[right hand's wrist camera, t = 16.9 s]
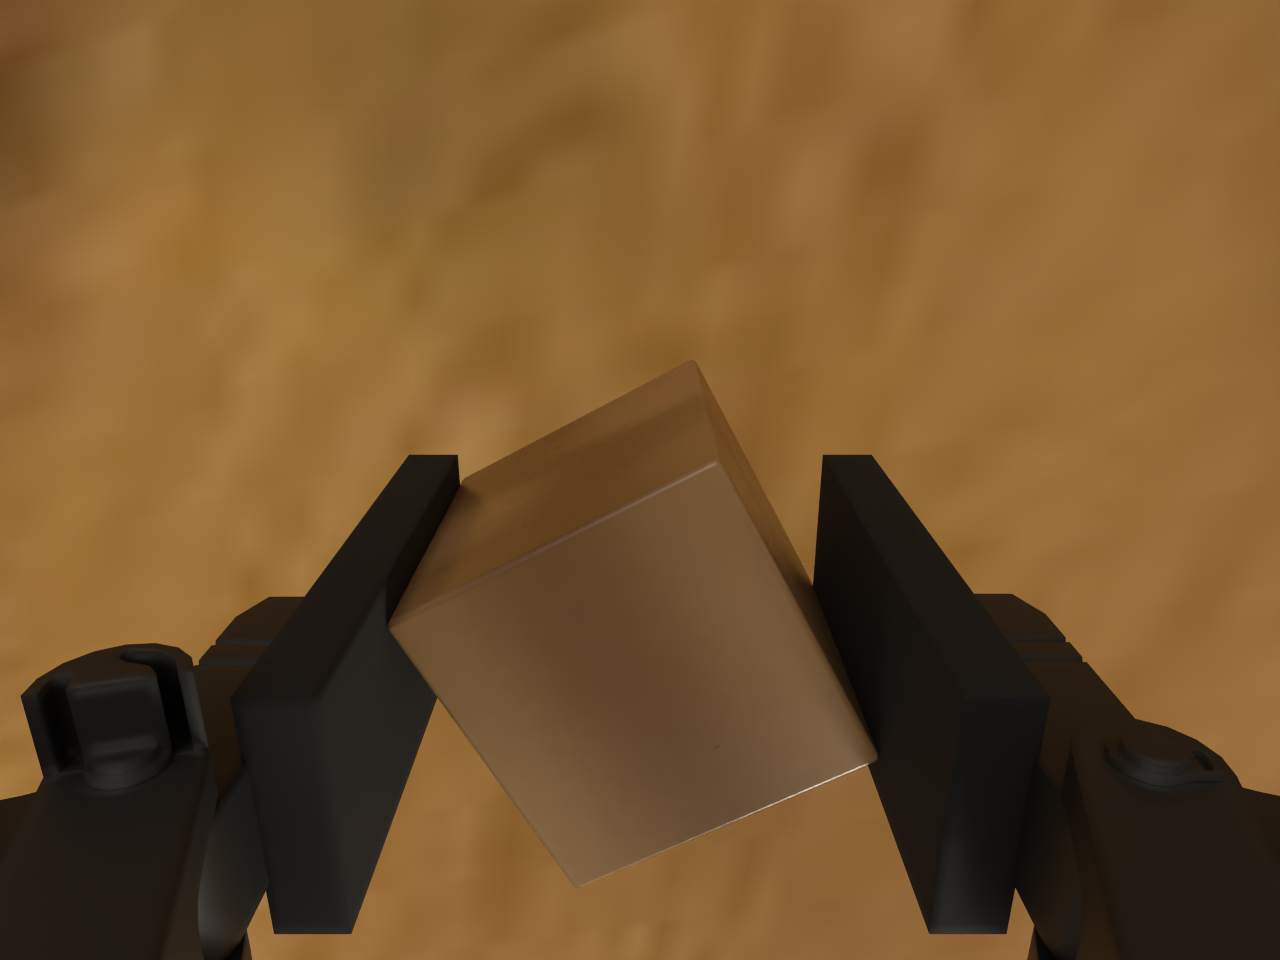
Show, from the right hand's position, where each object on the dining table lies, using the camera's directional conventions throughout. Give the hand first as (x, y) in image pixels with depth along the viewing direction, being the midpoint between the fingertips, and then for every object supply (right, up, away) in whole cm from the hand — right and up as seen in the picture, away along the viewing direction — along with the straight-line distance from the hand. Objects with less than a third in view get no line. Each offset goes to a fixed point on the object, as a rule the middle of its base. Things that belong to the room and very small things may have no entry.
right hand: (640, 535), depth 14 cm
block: (0, 0, 0) cm, 0 cm away
